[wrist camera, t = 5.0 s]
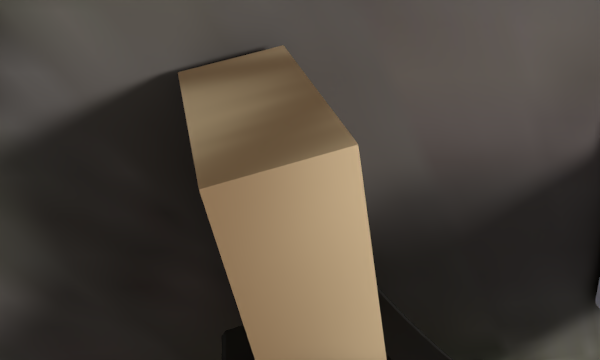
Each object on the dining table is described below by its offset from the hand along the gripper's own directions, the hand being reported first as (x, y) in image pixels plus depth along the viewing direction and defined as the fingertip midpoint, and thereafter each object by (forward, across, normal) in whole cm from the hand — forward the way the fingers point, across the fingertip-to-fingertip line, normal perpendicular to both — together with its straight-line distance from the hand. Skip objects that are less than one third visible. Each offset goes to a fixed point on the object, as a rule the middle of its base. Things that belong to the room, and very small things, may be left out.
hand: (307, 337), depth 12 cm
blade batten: (+2, 0, +2) cm, 3 cm away
